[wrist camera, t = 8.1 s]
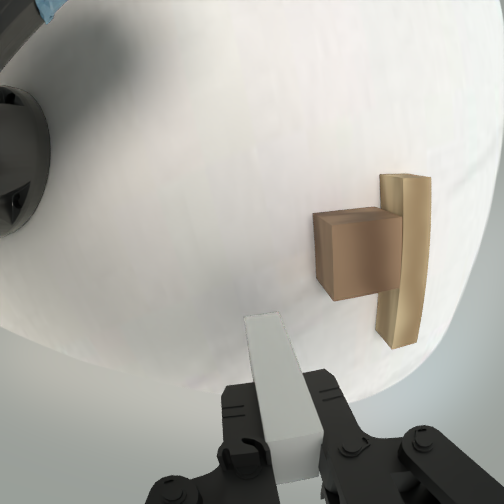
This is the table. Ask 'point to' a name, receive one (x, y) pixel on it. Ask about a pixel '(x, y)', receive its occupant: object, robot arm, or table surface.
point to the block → (357, 251)
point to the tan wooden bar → (406, 257)
